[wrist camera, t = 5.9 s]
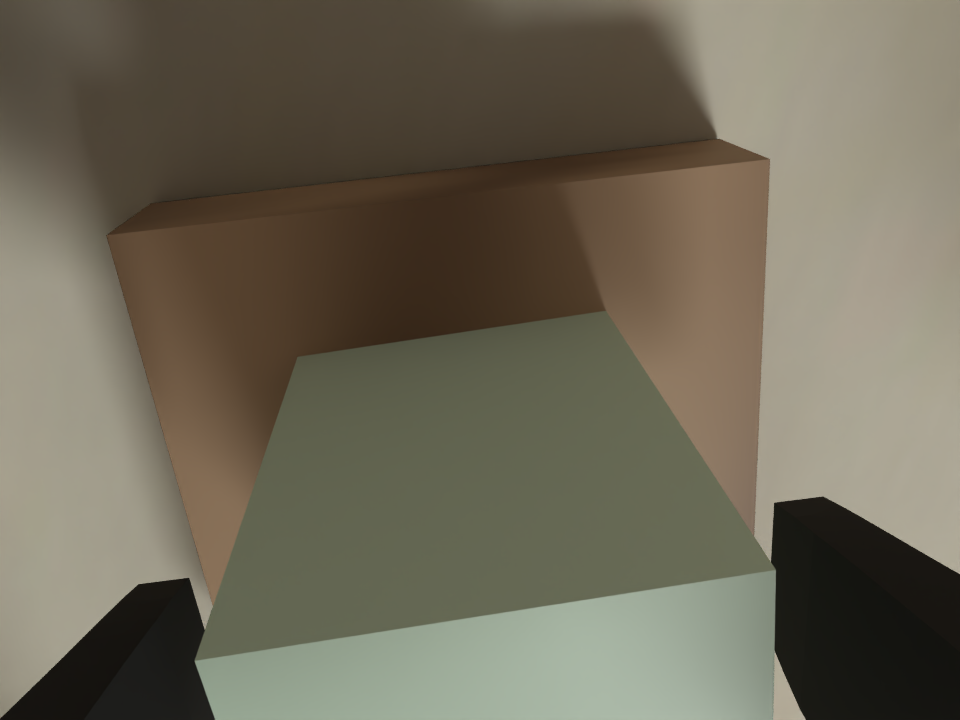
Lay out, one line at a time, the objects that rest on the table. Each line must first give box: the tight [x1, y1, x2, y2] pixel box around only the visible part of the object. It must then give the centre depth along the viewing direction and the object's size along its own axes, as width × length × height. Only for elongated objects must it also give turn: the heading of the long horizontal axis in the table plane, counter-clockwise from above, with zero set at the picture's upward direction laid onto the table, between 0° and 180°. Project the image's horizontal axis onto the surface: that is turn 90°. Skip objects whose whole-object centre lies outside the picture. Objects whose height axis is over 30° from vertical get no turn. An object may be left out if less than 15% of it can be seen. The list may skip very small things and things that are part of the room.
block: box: [195, 311, 776, 720], centre depth 10 cm, size 4×4×6 cm
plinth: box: [106, 139, 770, 605], centre depth 14 cm, size 9×9×2 cm
